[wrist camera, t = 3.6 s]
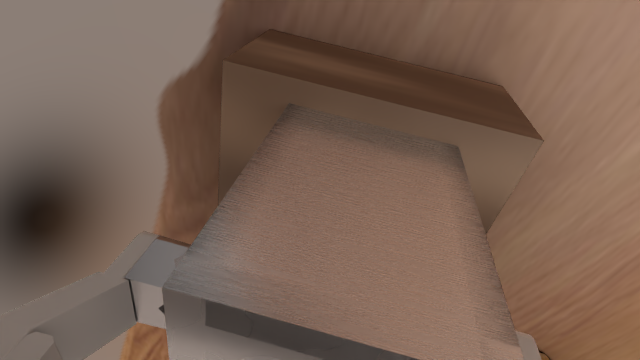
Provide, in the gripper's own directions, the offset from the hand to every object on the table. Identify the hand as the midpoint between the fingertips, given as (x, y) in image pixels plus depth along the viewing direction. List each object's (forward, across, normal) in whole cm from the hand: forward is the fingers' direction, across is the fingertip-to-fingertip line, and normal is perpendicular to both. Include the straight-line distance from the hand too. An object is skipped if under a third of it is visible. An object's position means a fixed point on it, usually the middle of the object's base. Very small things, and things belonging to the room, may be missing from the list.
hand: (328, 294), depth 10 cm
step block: (+12, 0, +2) cm, 12 cm away
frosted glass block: (+6, 0, 0) cm, 6 cm away
